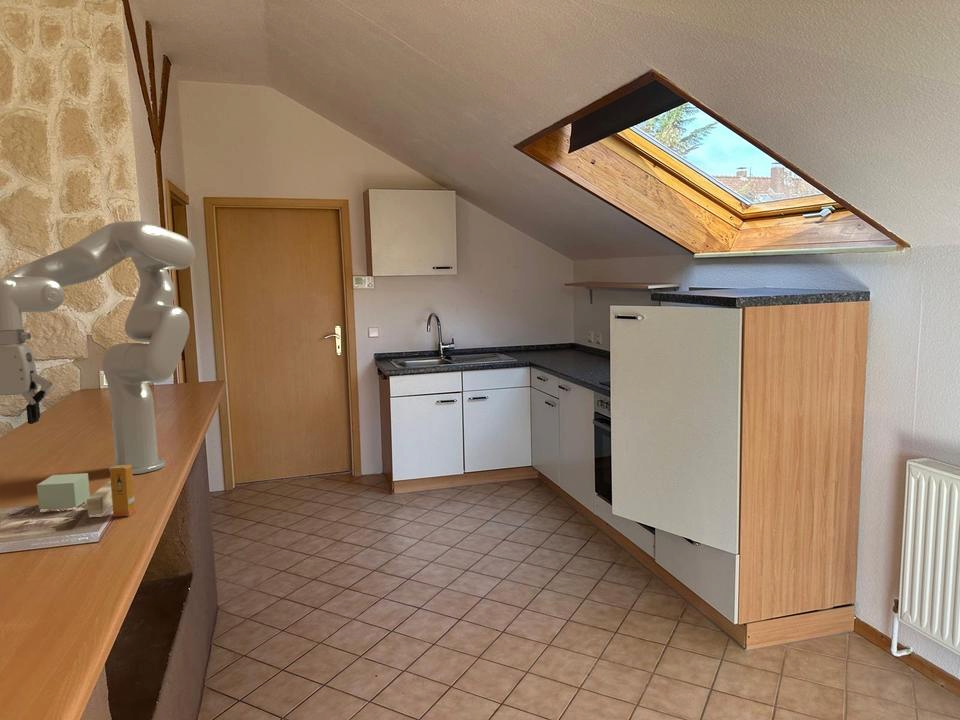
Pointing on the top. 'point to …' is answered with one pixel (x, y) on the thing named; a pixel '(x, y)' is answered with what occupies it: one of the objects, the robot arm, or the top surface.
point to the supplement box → (122, 490)
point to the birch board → (100, 500)
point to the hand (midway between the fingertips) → (10, 423)
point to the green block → (63, 491)
